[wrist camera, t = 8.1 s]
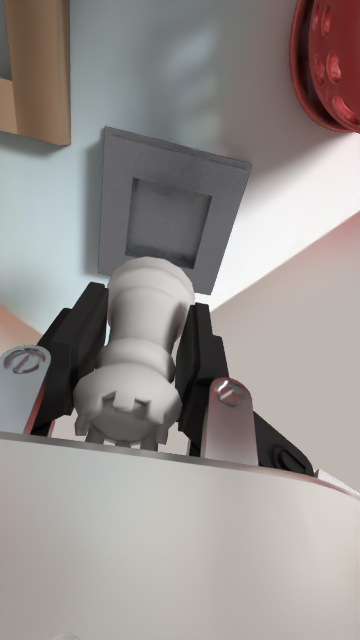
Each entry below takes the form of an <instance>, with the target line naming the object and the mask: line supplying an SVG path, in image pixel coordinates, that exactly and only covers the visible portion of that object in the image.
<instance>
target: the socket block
mask: <svg viewBox="0 0 360 640" xmlns="http://www.w3.org/2000/svg"><path fill="white" fill-rule="evenodd" d="M4 8H5V17H6V27H7V37H8V47H9V57H10V66H11V76H12V81H10V80H6V79H2V78H0V130H1V131H5V132H9V133H13V134H17V135H21V136H25V137H29V138H33V139H37V140H41V141H45V142H49V143H53V144H57V145H71V115H70V18H69V0H4Z"/></svg>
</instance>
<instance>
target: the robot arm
mask: <svg viewBox="0 0 360 640" xmlns="http://www.w3.org/2000/svg"><path fill="white" fill-rule="evenodd" d="M108 299H109V288H105V285H104V284H101V283H96V282H90V283H89V284H88V286H87V287H86V289H85V290H84V292H83V293H82V295H81V296H80V298H79V299H78V301H77V302H76V304H75V305H74V307H73V308H72V309H69V308H63V309H62V310H61V312H60V313H59V315H58V316H57V317H56V319H55V320H54V321H53V323H52V324H51V325H50V327H49V328H48V330H47V331H46V332H45V334H44V335H43V336H42V338H41V339H40V341H39V342H38V343H37V345H23V346H17V347H15V348H13V349H10V350H8V351H6V352H5V353H3V355H2V356H1V357H0V640H360V493H358V492H356V491H355V490H353V489H351V488H350V487H349V486H347V485H345V484H343V483H342V482H341V481H339V480H337V479H336V478H334V477H332V476H331V475H329V474H328V473H326V472H324V471H323V470H321V469H318V470H317V471H316V470H314V469H313V468H312V465H311V463H310V462H309V460H308V459H307V457H306V456H305V455H304V454H303V453H302V452H301V451H300V450H299V449H298V448H297V447H295V446H294V445H293V444H292V443H291V442H289V441H288V440H287V439H286V438H285V437H284V436H282V435H281V434H280V433H279V432H278V431H276V430H275V429H274V428H273V427H272V426H271V425H269V424H268V423H267V422H266V421H265V420H264V419H262V418H261V417H260V416H259V415H258V414H257V413H255V412H254V411H253V406H252V398H251V395H250V393H249V391H248V389H247V388H246V387H245V386H244V385H243V384H241V383H240V382H238V381H237V380H234V379H231V378H229V373H228V368H227V362H226V357H225V352H224V346H223V341H222V338H221V337H220V336H215V335H213V334H212V327H211V319H210V312H209V306H208V305H207V304H202V303H197V302H196V303H195V305H190V307H189V310H188V314H187V318H186V321H185V325H184V329H183V332H182V336H181V339H180V343H179V347H178V350H177V356H176V373H175V389H176V390H177V391H178V394H179V397H180V399H181V402H182V409H181V413H180V417H179V419H178V420H177V421H176V422H178V431H182V432H183V433H184V434H185V435H186V436H187V437H188V438H189V441H188V447H187V453H186V456H185V455H178V454H171V453H163V452H156V451H149V450H141V449H133V448H127V447H119V446H112V445H104V444H97V443H89V442H81V441H74V440H66V439H58V438H51V435H52V432H53V428H54V425H55V419H57V418H59V417H61V416H63V415H69V416H71V414H72V411H73V409H74V400H73V391H74V389H75V387H76V386H77V384H78V382H79V380H80V379H81V378H83V377H85V376H86V375H88V374H90V373H91V372H93V371H94V369H95V358H96V357H97V355H98V353H99V351H100V350H101V348H103V347H104V343H105V338H106V325H107V312H108Z"/></svg>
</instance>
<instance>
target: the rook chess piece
mask: <svg viewBox="0 0 360 640" xmlns="http://www.w3.org/2000/svg"><path fill="white" fill-rule="evenodd" d="M107 288H109V299H108V312H107V320H108V324H109V326H110V335H109V341H108V344H107V345H106V346H104V347H103V348H101V350H100V351H99V353H98V355H97V357H96V358H95V370H94V371H93V372H91V373H90V374H88V375H86V376H85V377H83V378H81V379H80V380H79V382H78V384H77V386H76V387H75V389H74V391H73V400H74V407H75V409H76V411H77V413H78V417H77V420H76V422H75V434H76V436H86V434H87V431H88V434H87V437H86V440H85V442H89V443H97V444H103V443H104V440H105V441H108V442H111V443H114V444H115V446H119V447H127V448H131V446H132V445H139V444H141V446H140V449H141V450H149V451H156V452H158V443H160V444H164V445H166V442H167V437H168V429H169V428H170V427H171V426H172V425H173V424H174V423H175V422H176V421H177V420H178V419H179V417H180V413H181V409H182V402H181V399H180V397H179V394H178V391H177V390H176V389H175V388H174V387H173V386H172V385H171V383H172V382H173V381H174V378H175V373H176V367H175V364H174V362H173V358H172V357H171V353H172V350H173V346H174V342H176V340H177V339H178V338H179V337H180V336H181V335H182V332H183V329H184V325H185V321H186V318H187V314H188V310H189V307H190V305H194V301H195V295H194V291H193V287H192V282H191V281H190V280H189V278H188V277H187V276H186V275H185V273H184V272H183V271H182V269H181V268H179V267H177V266H175V265H174V264H172V263H170V262H168V261H167V260H165V259H159V258H153V257H141V258H137V259H133V260H129V261H127V262H126V263H124V264H123V265H122V266H120V267H119V268H118V269H116V270H115V271H114V273H113V275H112V277H111V279H110V281H109V283H108V285H107Z"/></svg>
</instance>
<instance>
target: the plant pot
mask: <svg viewBox="0 0 360 640" xmlns="http://www.w3.org/2000/svg"><path fill="white" fill-rule="evenodd" d="M289 64H290V73H291V80H292V84H293V88H294V91H295V94H296V97H297V99H298V101H299V103H300V105H301V107H302V108H303V110H304V111H305V112H306V114H307V115H308V116H309V117H310V118H311V119H312V120H313V121H315V122H316V123H318V124H319V125H321V126H323V127H325V128H327V129H330V130H333V131H338V132H356V133H359V134H360V0H298V2H297V5H296V9H295V13H294V17H293V22H292V28H291V35H290V46H289Z"/></svg>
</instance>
